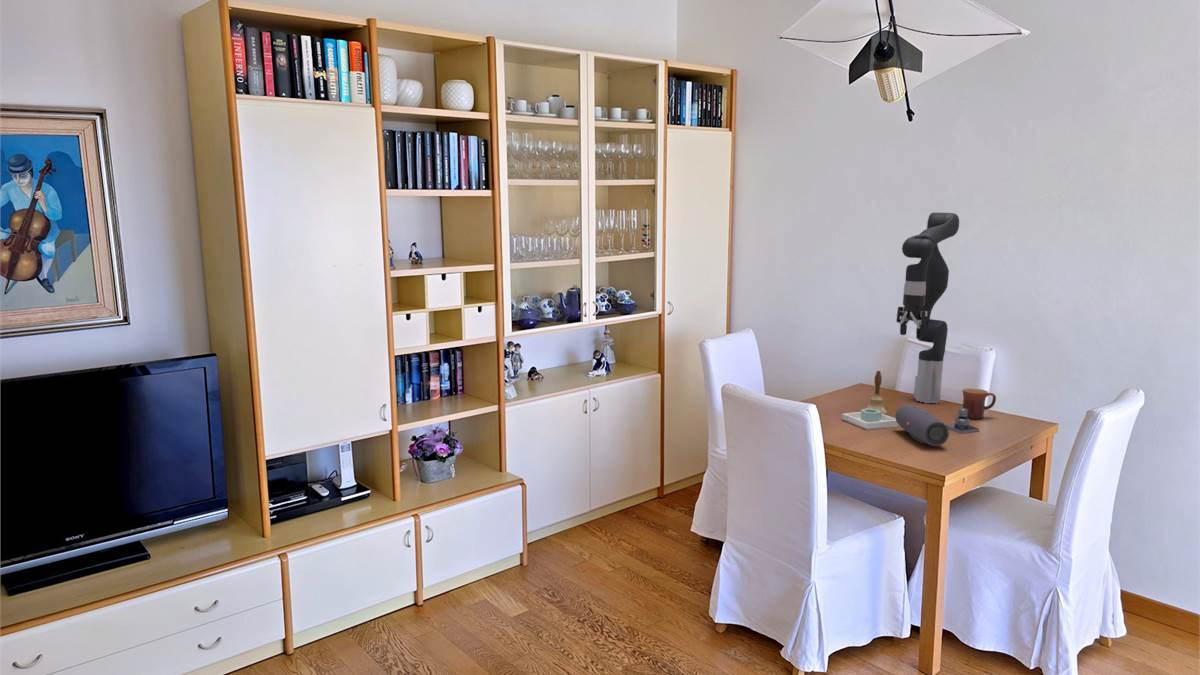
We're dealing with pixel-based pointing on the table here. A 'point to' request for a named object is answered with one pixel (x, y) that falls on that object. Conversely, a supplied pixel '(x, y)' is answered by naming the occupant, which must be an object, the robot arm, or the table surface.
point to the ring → (870, 415)
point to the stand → (962, 423)
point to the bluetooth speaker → (922, 425)
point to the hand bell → (877, 396)
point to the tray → (856, 420)
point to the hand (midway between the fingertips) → (911, 336)
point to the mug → (976, 402)
